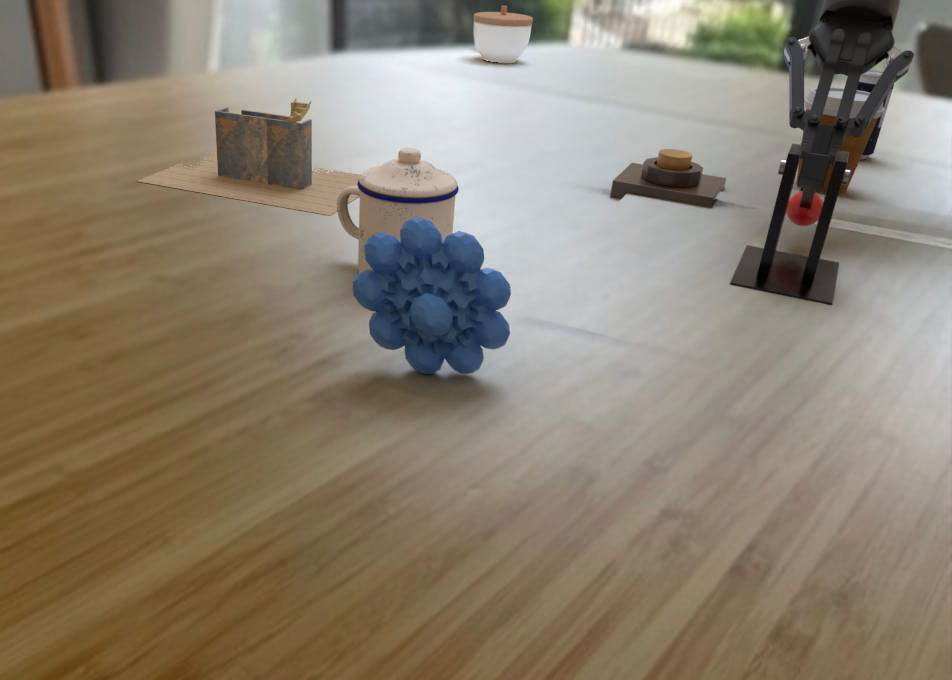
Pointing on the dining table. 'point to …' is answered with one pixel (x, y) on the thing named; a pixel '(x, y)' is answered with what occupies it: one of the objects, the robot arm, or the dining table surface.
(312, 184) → the architectural model on board
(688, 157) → the button
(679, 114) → the dining table surface
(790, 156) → the stand
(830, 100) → the disposable coffee cup
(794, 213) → the power lever
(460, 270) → the blue flower ornament
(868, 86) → the beverage can
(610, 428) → the dining table surface
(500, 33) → the lidded bowl
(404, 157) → the teacup with lid
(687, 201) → the brown lamp base
